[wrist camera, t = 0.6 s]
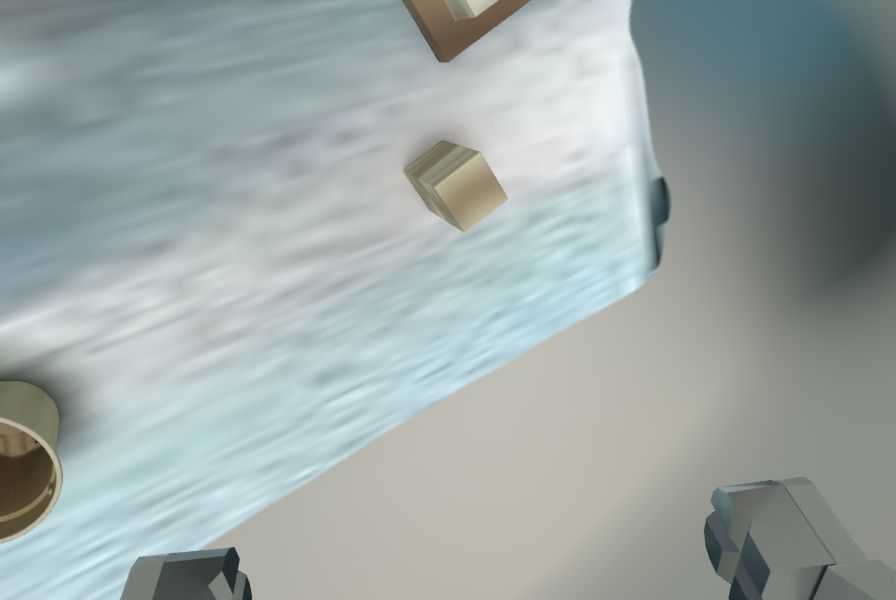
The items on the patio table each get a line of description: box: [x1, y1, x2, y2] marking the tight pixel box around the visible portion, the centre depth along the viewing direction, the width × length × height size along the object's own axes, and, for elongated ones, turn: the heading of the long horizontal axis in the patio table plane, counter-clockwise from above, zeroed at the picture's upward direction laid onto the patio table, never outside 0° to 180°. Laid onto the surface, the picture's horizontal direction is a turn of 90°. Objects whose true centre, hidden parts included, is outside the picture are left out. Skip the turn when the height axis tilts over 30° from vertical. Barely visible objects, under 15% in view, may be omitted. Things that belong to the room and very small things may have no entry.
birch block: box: [403, 141, 508, 232], centre depth 48 cm, size 4×4×8 cm
